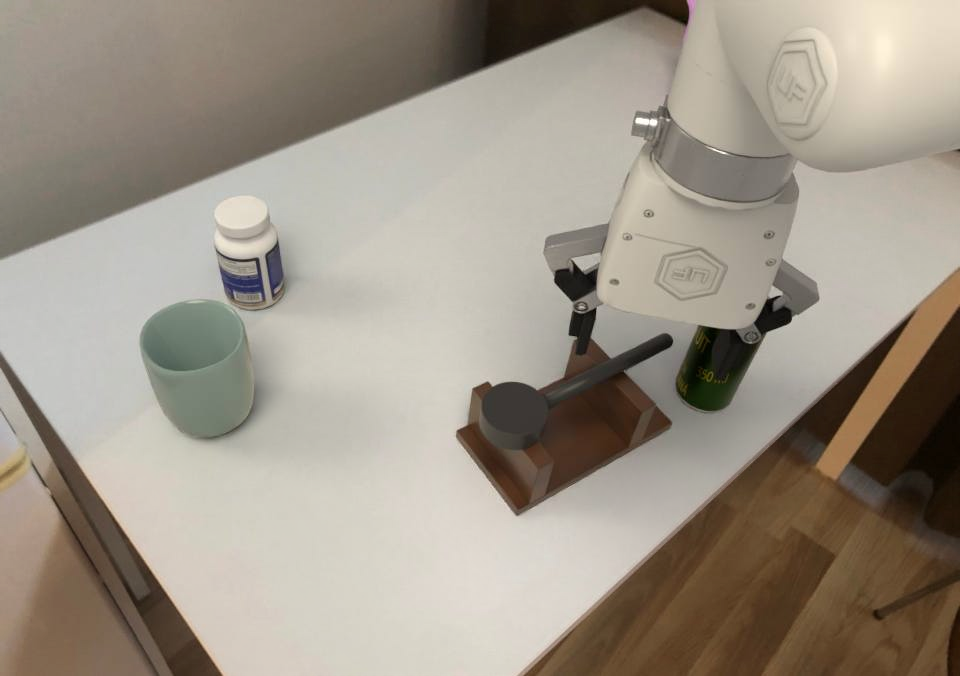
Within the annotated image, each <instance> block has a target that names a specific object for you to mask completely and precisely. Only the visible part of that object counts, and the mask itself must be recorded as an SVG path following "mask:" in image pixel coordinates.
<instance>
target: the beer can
mask: <svg viewBox="0 0 960 676" xmlns="http://www.w3.org/2000/svg"><path fill="white" fill-rule="evenodd" d="M770 298H771V297H770V296H769V295H768V297H767V299H766V300H768V299H770ZM719 331H720V328H714V327H708V326H702V325H697V326H696V330H695V332H694V335H693V337H692V338H691V341H690V344H689V346H688V348H687V350H686V353H685V356H684V358H683V360H682V363H681V365H680V367H679V370H678V371H677V374H676V377H675V384H674V385H675V390H676V393H677V396H678V398H679V400H680V401H681V402H682V404H684V405H685V406H686V407H687V408H688V409H690V410H693V411H695V412H697V413H702V414H714V413H718V412H721V411H722V410H724V409H725V408H727V407H728V406H730V405H731V402H732V401H733V399H734V398H735V395H736V393H737V391H738V390H739V387H740V385H741V383H742V381H743V380H744V377H745V376H746V374H747V372H748V370H749V368H750V367H751V364H752V363H753V361H754V359H755V357H756V355H757V353H758V351H759V349H760V348H761V345H762V343H763V341H764V340H765V337H766V336H767V334H768V332H767V333H764V334H761V339H760V340H759V341H758V342H756V343H753V344H749V345H748V347H747V349H746V351H745V353H744V355H743V357H742V359H741V361H740V363H739V365H738V366H734V365H732V367H731V369H730V371H729V373H728V375H727V377H726V379H725V381H724V382H723V381H717V380H716V379H715V378H713V365H712V347H713V344H714V342H715V340H716V338H717V336H718V333H719Z"/></svg>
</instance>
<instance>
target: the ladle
mask: <svg viewBox="0 0 960 676" xmlns="http://www.w3.org/2000/svg"><path fill="white" fill-rule="evenodd" d="M673 344H674V338H673V336H672V335H671V334H670V333H667V332H663V333H660V334H658V335H656V336H654V337H652V338H650V339H648V340H646V341H644V342H642V343H640V344H638V345H636V346H634V347H632V348H630V349H628V350H626V351H624V352H622V353H620V354H618V355H615V356H614V357H611V359H610V360H608V361H606V362H604V363H602V364H600V365H598V366H596V367H594V368H592V369H590V370H588V371H586V372H584V373H582V374H580V375H578V376H576V377H574V378H572V379H570V380H568V381H566V382H564V383H562V384H560V385H558V386H556V387H554V388H552V389H550V390H548V391H546V392H544V393H542V394H541V393H540V392H539V391H538V390H539V389H536V388H535V387H534V386H532V385H529V384H527V383H524V382H521V381H520V382H519V381H504V382H500V383H498V384H495V385H494V386H493V385H492V386H493V387H492V388H491V389H489V390H488V391H487V392H486V394H485V395H484V397H483V399H482V404H481V410H480V417H479V424H480V428H481V431H482V433H483V434H484V436H485V437H486V438H487V439H488V440H489V441H490V442H491V443H493V444H494V445H496V446H498V447H500V448H503V449H507V450H523V449H527V448H529V447H532V446H533V445H535V444H536V443H537V442H538V441H539V440H540V439H541V438H542V436H543V434H544V431H545V427H546V423H547V419H548V415H549V409H551V408H553V407H555V406H557V405H559V404H561V403H563V402H565V401H567V400H569V399H571V398H573V397H575V396H577V395H579V394H580V393H582V392H584V391H586V390H588V389H590V388H592V387H594V386H596V385H598V384H600V383H602V382H604V381H606V380H608V379H610V378H612V377H614V376H616V375H618V374H620V373H621V372H623V371H624V372H625V371H627V370H630V369H631V368H633V367H635V366H637V365H640V364H641V363H644V362H645V361H647V360H649V359H651V358H653V357H655V356H657V355H658V354H660V353H662V352H664V351H667V350H668V349H670V348H671V347H672V346H673Z"/></svg>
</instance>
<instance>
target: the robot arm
mask: <svg viewBox="0 0 960 676" xmlns="http://www.w3.org/2000/svg"><path fill="white" fill-rule="evenodd" d="M673 75H674V76H673V78H672V82H671V86H670V89H669V91H668V92H669V93H668V94H666V95H665V98H664V101H663V105H659V106H658V108H657V110H650V111H649V112H648V111H641V110H636V111H635V113H634V117H633V122H632V125H631V132H630V133H631V134H630V135H631V137H632V136H634V137H639V138H643V140H644V141H645V143H644V144H643V145H642V146H641V148H640V150H639V152H638V153H637V155H636V156H635V159H634V160H633V162H632V165H631V166H630V167H629V170H628V172H627V174H626V177H625V178H624V181H623V183H622V186H621V188H620V191H619V193H618V196H617V198H616V201H615V203H614V206H613V209H612V211H611V213H610V214H611V215H610V217H609V219H608V222H607V223H603V224H599V225H593V226H589V227H583V228H578V229H574V230H570V231H565V232H560V233H555V234H551V235H548V236H547V237H546V238H545V240H544V246H543V257H544V258H545V261H546V263H547V266H548V268H549V270H550V272H551V273H552V275H553V282H554V284H555V286H556V287H558V288H559V290H560V291H561V292H562V294H564V295H565V296H566V297H567V298H568V300H570V302H572V305H571V307H572V312H571V315H570V321H569V325H568V336H569V337H574V338H576V339H577V341H576V350H575V355H579V356H583V354H585V355H586V352H587V348H588V345H589V341H590V338H592V335H593V331H594V327H595V325H596V324H595V323H596V320H597V312H598V311H597V309H598V307H600V306H603V305H605V306H607V307H609V308H612V309H614V310H617V311H621V312H626V313H629V314H636V315H640V316H641V315H642V316H645V317H651V318H656V319H663V320H668V321H672V322H673V321H674V322H678V323H684V324H685V323H686V324H690V325H697V326H698V325H702V326H708V327H714V328H720V331H719V333H718V336H717V338H716V340H715V342H714V344H713V347H712V365H713V378H715V379H716V380H717V381H723V382H724V381H725V379H726V377H727V375H728V373H729V371H730V369H731V367H732V365H734V366H738V365H739V363H740V361H741V359H742V357H743V355H744V353H745V351H746V349H747V347H748V345H749V344H753V343H756V342H758V341H759V340H760V339H761V334H764V333H767V334H768V333H770V332H771V331H775V330H777V329H780V328H784V327H785V326H788V325H790V324H791V323H792V321H793V318H794V317H795V316H799V315H801V314H802V313H804V312H805V311H807V310H808V309H810V308H811V307H813V306H814V305H815V304H817V303H818V302H819V301H820V298H821V297H820V292H819V287H818V282H816V281H815V280H814V279H813V278H811V277H809V276H808V275H806V274H805V273H803V272H802V271H801V270H799V269H798V268H796V267H795V266H794V265H792V264H790V263H789V262H788V261H786V260H785V259H783V257H784V253H785V251H786V247H787V244H788V241H789V238H790V234H791V232H792V227H793V223H794V220H795V217H796V212H797V207H798V202H799V197H800V188H799V187H800V186H799V185H798V182H797V179H796V176H795V173H794V170H795V169H796V168H795V167H796V165H797V163H798V162H800V163H802V164H804V165H805V166H807V167H809V168H812V169H814V170H817V171H822V172H825V173H840V174H841V173H842V174H843V173H844V174H845V173H846V174H847V173H854V172H855V173H856V172H864V171H868V170H872V169H877V168H883V167H886V166H891V165H895V164H900V163H904V162H909V161H913V160H917V159H922V158H927V157H931V156H933V155H937V154H942V153H946V152H952V151H957V150H960V0H696V3H695V7H694V10H693V14H692V17H691V20H690V24H689V27H688V31H687V34H686V37H685V41H684V44H683V48H682V47H681V52H680V54H679V58H678V61H677V65H676V68H675V72H674V74H673ZM599 253H600V258H599V262H597V263H595V264H593V265H591V266H590V267H588V268H587V269H585V270H582V269H581V268H580V267H579V265H577V263H576V262H575V261H574V260H573V259H574V258H580V257H584V256H590V255H596V254H599ZM772 287H775V288H776V289H777V290H779V291H780V292H781V293H782V294H781V295H780V294H779V295H775V296H772V297H770V299H768V300H766V299H767V297H768V296H769V294H770V292H771V289H772Z"/></svg>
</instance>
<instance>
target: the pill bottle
mask: <svg viewBox="0 0 960 676" xmlns="http://www.w3.org/2000/svg"><path fill="white" fill-rule="evenodd" d="M214 221H215V225H216V226H215V227H216V229H215V231H214V234H213V244H214V250H215V254H216V259H217V263H218V267H219V273H220V277H221V281H222V287H223V291H224V294H225V297H226V299H227V300H228V301H229V302H230V303H231V304H232V305H233V306H235V307H238V308H239V309H243V310H249V311H254V310H255V311H256V310H262V309H265V308H268V307H270V306H271V307H272V305H274V304H276V302H278V301H279V300H280V299H281V298H282V296H284V295H283V294H284V292H285V289H286V283H285V275H284V269H283V262H282V254H281V249H280V248H281V247H280V241H279V235H278V231H277V228H276V227H275V225H274V223H273V222H272V221H271V216H270V211H269V207H268V205H267V204H266V202H265V201H264V200H262V199H261V198H259V197H256V196H252V195H235V196H232V197H229V198H227V199H225V200H223V201H221V202H220V203H219V204H218V205H217V206H216V208H215V210H214Z"/></svg>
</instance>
